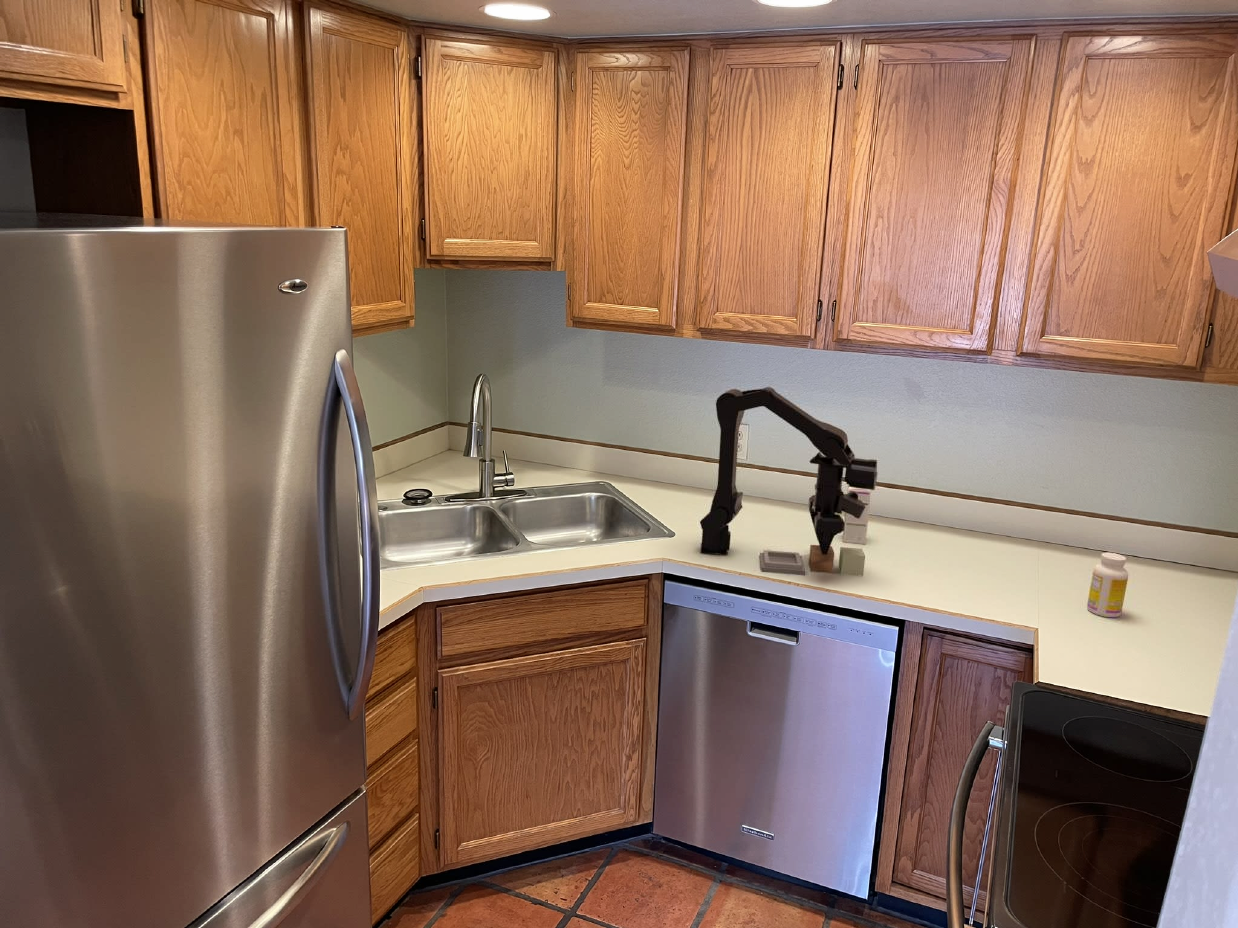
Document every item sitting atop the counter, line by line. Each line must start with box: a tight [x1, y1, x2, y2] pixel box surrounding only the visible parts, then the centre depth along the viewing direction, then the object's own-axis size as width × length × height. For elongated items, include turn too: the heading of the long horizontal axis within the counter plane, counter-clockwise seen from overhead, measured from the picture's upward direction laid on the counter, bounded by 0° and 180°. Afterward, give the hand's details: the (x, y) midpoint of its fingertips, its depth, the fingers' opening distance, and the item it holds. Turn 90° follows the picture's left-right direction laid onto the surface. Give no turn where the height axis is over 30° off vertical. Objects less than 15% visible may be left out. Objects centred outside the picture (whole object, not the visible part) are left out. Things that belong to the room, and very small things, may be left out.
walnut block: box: [808, 544, 835, 574], centre depth 214 cm, size 5×5×5 cm
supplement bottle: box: [1086, 552, 1129, 618], centre depth 196 cm, size 7×7×13 cm
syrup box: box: [842, 484, 872, 545], centre depth 234 cm, size 6×6×14 cm
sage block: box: [837, 546, 866, 577], centre depth 214 cm, size 5×5×5 cm
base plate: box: [759, 549, 806, 576], centre depth 216 cm, size 10×10×2 cm
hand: (822, 547), depth 214 cm, fingers open, 9 cm apart
